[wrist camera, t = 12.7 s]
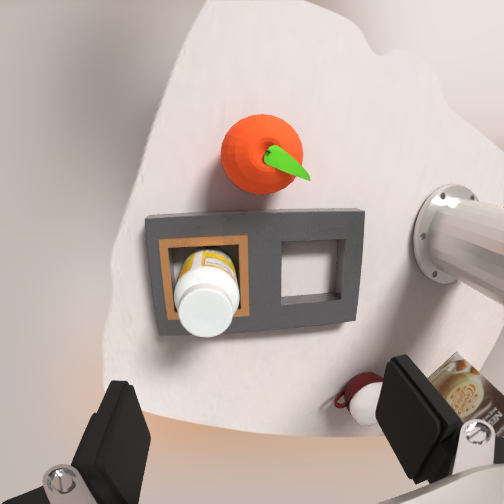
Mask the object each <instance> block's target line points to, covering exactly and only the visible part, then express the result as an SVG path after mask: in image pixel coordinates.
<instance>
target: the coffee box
mask: <svg viewBox="0 0 504 504" xmlns="http://www.w3.org/2000/svg"><path fill="white" fill-rule="evenodd" d="M428 380H429V381H430V382H431V383H432V385H433V386H434V387H435V388H436V389H437V391H438V392H439V393H440V394H441V395H442V396H443V398H444V399H445V400H446V401H447V402H448V404H449V405H450V406H451V407H452V408H453V410H454V411H455V412H456V413H457V415H458V416H459V417H460V418H461V421H462V422H463V423H464V424H465V423H466V422H468V421H469V420H473V419H480V420H483V421H486V422H488V423H489V424H490V425H491V426H492V427H493V429H494V431H495V436H497V437H504V395H503V394H502V393H501V392H500V391H498V390H497V389H496V388H495V387H494V386H493V385H492V384H491V383H490V382H489V381H488V380H487V379H486V378H485V377H484V376H483V375H481V374H480V373H479V372H478V371H477V370H476V369H475V368H474V367H473V366H472V365H470V364H469V363H468V362H467V361H466V360H465V359H464V358H463V357H462V356H461V355H460V354H459V353H458V352H456V353H455V354H454V355H453V356H452V357H451V358H450V359H449V360H447V361H446V362H445V363H444V364H443V365H442V366H441V367H440V368H439V369H438V370H437V371H435V372H434V373H433V374H432V375H431V376H430V377H429V378H428Z"/></svg>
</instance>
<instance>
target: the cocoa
mask: <svg viewBox="0 0 504 504" xmlns="http://www.w3.org/2000/svg"><path fill="white" fill-rule="evenodd" d="M382 383H383V378H382V377H381V376H379V375H377V374H375V373H373V372H368V373H361V374H359V375H357V376H355V377H354V378H353V379H352V380H350V381H349V383H348V385H347V386H346V388H345V389H344V390H343V391H341V392H340V393H339V394H338V395H337V397H336V398H335V401H334V404H335V406H336V407H337V408H344V407H347V409H348V411H349V412H350V414H351V415H352V416H353V417H354V419H355V420H356V421H357V422H358V424H359V425H366V426H370V425H372V424H375V423H378V422H377V420H376V417H375V411H376V407H377V403H378V399H379V395H380V391H381V387H382ZM342 395H344V399H345V403H343V404H339V403H337V401H338V400H339V398H340V397H341V396H342Z"/></svg>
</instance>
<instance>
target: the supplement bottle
mask: <svg viewBox="0 0 504 504" xmlns="http://www.w3.org/2000/svg"><path fill="white" fill-rule="evenodd" d="M239 298H240V297H239V288H238V283H237V278H236V272H235V267H234V264H233V262H232V260H231V258H230V257H229V256H228V255H227V254H226V253H225V252H224V251H222V250H220V249H218V248H215V247H202V248H199V249H196V250H195V251H193V252H192V253H190V254H189V255H188V257H187V258H186V260H185V261H184V263H183V266H182V269H181V272H180V275H179V278H178V281H177V284H176V287H175V291H174V302H175V306H176V309H177V311H178V314H179V319H180V322H181V324H182V325H183V327H184V328H185V329H186V330H187V331H188V332H190V333H191V334H193V335H195V336H199V337H206V338H207V337H214V336H217V335H219V334H221V333H223V332H224V331H225V330H226V329H227V328H228V327H229V325H230V323H231V321H232V317H233V315H234V314H235V312H236V310H237V308H238V305H239Z"/></svg>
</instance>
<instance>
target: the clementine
mask: <svg viewBox="0 0 504 504" xmlns="http://www.w3.org/2000/svg"><path fill="white" fill-rule="evenodd" d="M221 161H222V166H223V168H224V170H225V173H226V175H227V176H228V178H229V179H230V180H231V181H232V182H233V183H234V184H235V185H236V186H238V187H239V188H241V189H242V190H244V191H247V192H250V193H252V194H262V195H263V194H270V193H275V192H277V191H279V190H281V189H284V188H285V187H286V186H288V185H289V184H290V183H291V182H293V180H294V179H295V177H296V176H298V177H300V178H303V179H306V180H309V181H310V176H309V175H308V173H307V172H306V170H305V169H304V168H303V167H302V161H303V149H302V143H301V141H300V139H299V136H298V134H297V133H296V132H295V130H294V129H293V128H292V126H290V125H289V124H288V123H287V122H285V121H284V120H282V119H280V118H278V117H275V116H272V115H265V114H260V115H252V116H249V117H247V118H244V119H242V120H240V121H239V122H237V123H236V124H235V125H233V126H232V127H231V129H230V130H229V131H228V133H227V134H226V135H225V138H224V140H223V143H222V147H221Z"/></svg>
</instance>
